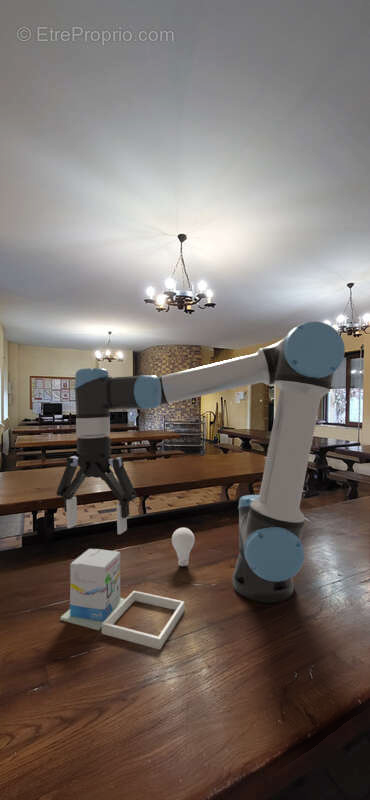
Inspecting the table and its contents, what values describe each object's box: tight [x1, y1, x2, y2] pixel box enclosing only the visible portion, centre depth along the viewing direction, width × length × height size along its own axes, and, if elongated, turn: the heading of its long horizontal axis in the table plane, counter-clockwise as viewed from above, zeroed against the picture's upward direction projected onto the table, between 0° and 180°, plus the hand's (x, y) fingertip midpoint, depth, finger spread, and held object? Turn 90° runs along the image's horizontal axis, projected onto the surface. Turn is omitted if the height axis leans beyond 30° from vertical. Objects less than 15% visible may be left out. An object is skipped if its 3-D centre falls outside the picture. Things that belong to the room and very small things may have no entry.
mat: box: [59, 597, 126, 631], centre depth 78 cm, size 10×11×1 cm
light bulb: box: [171, 527, 196, 567], centre depth 98 cm, size 7×7×11 cm
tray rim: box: [101, 590, 186, 650], centre depth 74 cm, size 13×13×2 cm
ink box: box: [69, 548, 121, 621], centre depth 78 cm, size 8×8×12 cm
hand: (96, 529), depth 78 cm, fingers open, 13 cm apart
